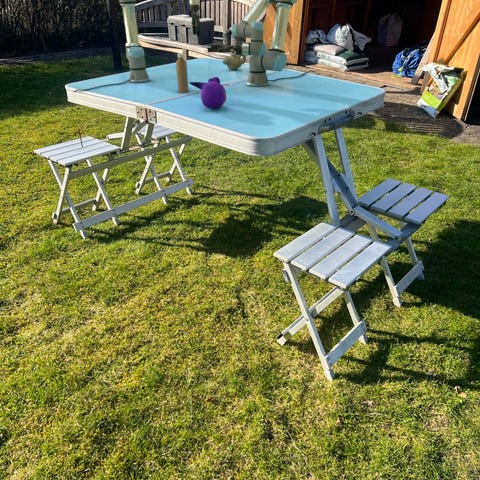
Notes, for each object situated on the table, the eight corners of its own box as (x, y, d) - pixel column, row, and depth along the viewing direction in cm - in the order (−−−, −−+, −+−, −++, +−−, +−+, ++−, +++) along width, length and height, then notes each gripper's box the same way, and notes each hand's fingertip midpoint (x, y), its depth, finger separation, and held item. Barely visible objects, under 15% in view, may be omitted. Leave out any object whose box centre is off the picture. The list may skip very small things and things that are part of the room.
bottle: (190, 91, 306) (188, 54, 294) (183, 93, 301) (180, 55, 289) (183, 90, 310) (180, 53, 298) (176, 92, 305) (172, 54, 293)
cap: (185, 56, 294) (184, 53, 293) (180, 57, 292) (180, 54, 291) (180, 56, 296) (180, 53, 295) (176, 57, 294) (176, 53, 293)
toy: (213, 100, 281) (226, 115, 260) (186, 95, 274) (197, 111, 253) (219, 74, 273) (233, 88, 252) (191, 69, 266) (203, 83, 245)
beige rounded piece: (226, 72, 363) (226, 52, 355) (220, 70, 372) (219, 50, 364) (249, 69, 372) (249, 50, 365) (242, 67, 381) (241, 48, 373)
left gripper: (203, 5, 329) (204, 36, 339) (195, 3, 349) (197, 33, 360) (193, 5, 327) (195, 37, 338) (186, 4, 347) (188, 34, 358)
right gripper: (240, 57, 277) (206, 57, 279) (243, 52, 299) (212, 52, 301) (240, 44, 274) (206, 44, 275) (243, 40, 295) (211, 40, 297)
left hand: (196, 35), depth 349 cm, fingers open, 13 cm apart
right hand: (209, 48), depth 288 cm, fingers open, 13 cm apart
